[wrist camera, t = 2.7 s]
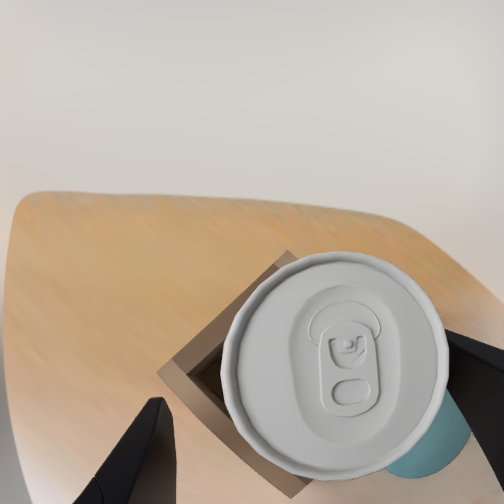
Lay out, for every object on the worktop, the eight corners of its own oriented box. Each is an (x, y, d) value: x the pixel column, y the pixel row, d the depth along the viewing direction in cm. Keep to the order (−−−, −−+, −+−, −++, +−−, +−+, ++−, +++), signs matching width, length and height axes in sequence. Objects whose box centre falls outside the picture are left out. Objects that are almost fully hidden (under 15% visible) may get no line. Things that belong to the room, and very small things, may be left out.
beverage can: (323, 332, 17) (434, 241, 6) (327, 415, 15) (457, 455, 4) (238, 336, 17) (216, 246, 6) (240, 420, 15) (219, 497, 4)
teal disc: (488, 398, 15) (492, 398, 14) (421, 495, 12) (424, 497, 12) (421, 330, 17) (425, 329, 17) (341, 433, 15) (343, 434, 14)
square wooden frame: (385, 369, 16) (413, 364, 13) (283, 478, 14) (291, 499, 10) (281, 273, 19) (287, 249, 15) (173, 375, 16) (155, 372, 13)
